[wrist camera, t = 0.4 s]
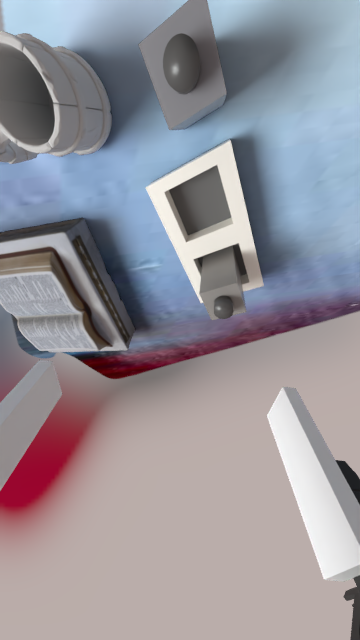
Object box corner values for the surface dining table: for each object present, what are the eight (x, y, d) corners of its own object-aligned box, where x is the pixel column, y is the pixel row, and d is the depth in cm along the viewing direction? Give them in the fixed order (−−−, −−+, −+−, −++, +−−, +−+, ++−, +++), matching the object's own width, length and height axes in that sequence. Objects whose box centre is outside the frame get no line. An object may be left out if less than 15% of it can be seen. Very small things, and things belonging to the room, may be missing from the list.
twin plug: (232, 244, 30) (238, 291, 21) (239, 270, 32) (247, 320, 24) (203, 255, 31) (198, 302, 23) (212, 278, 34) (211, 328, 26)
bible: (47, 329, 51) (19, 362, 44) (-27, 211, 33) (-95, 234, 26) (138, 339, 49) (125, 375, 42) (114, 218, 31) (83, 245, 24)
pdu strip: (229, 138, 23) (231, 140, 20) (260, 273, 33) (264, 288, 30) (152, 181, 27) (143, 189, 24) (202, 291, 37) (200, 306, 34)
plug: (209, 41, 19) (202, -30, 10) (223, 104, 21) (227, 90, 13) (166, 74, 20) (130, 36, 12) (184, 129, 23) (165, 130, 14)
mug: (129, 126, 23) (76, 125, 15) (63, 184, 28) (-6, 210, 20) (77, 27, 19) (-39, -56, 10) (10, 116, 24) (-107, 110, 15)
